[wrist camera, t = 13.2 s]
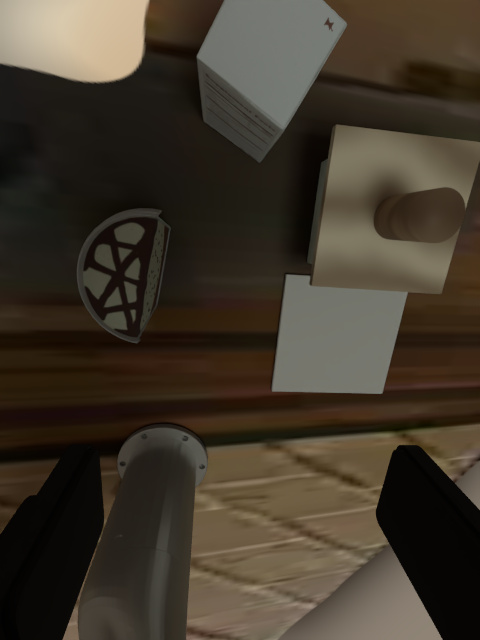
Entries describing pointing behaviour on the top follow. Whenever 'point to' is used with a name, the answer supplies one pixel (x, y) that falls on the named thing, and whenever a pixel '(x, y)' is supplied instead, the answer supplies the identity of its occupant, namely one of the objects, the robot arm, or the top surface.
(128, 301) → the grey half-round piece
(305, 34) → the supplement box
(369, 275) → the lid
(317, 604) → the top surface
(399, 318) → the mat
